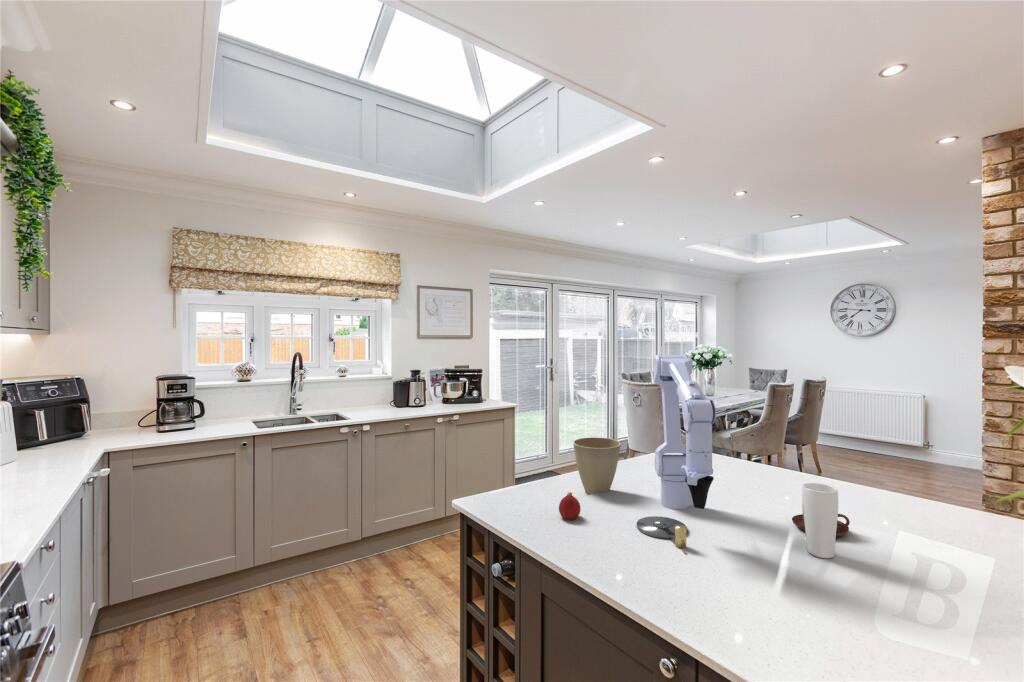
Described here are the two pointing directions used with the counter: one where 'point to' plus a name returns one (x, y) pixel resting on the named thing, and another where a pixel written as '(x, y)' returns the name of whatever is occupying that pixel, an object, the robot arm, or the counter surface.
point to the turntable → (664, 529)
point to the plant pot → (596, 462)
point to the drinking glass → (820, 518)
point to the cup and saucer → (841, 527)
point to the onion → (569, 507)
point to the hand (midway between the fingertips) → (699, 507)
